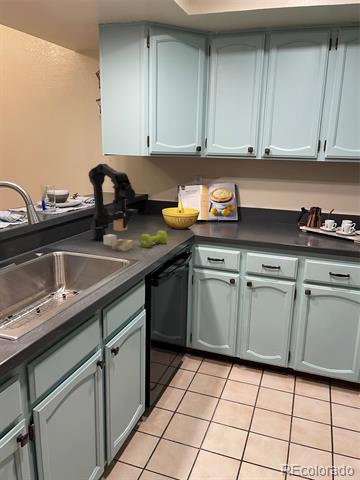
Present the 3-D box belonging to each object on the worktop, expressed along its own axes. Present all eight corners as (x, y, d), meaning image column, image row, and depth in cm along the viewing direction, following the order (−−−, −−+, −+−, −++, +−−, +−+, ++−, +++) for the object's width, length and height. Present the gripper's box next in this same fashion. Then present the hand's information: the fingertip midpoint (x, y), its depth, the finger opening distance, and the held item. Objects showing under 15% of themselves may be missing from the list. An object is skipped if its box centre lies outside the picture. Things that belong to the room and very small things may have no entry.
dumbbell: (148, 249, 203) (148, 236, 201) (138, 246, 208) (138, 233, 206) (169, 244, 215) (169, 231, 214) (158, 241, 220) (158, 229, 218)
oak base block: (112, 249, 201) (111, 242, 201) (120, 246, 209) (119, 239, 208) (125, 251, 199) (125, 243, 198) (132, 247, 206) (132, 240, 205)
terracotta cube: (113, 229, 200) (113, 220, 199) (119, 228, 204) (119, 219, 203) (121, 231, 197) (121, 221, 196) (127, 229, 202) (127, 220, 200)
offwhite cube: (103, 244, 210) (103, 235, 209) (109, 242, 215) (109, 234, 213) (110, 245, 208) (110, 236, 207) (116, 244, 212) (116, 235, 211)
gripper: (95, 197, 195) (96, 228, 198) (124, 200, 186) (124, 232, 189) (110, 195, 204) (110, 224, 208) (138, 198, 195) (138, 228, 199)
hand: (120, 227), depth 201 cm, fingers closed on terracotta cube, 5 cm apart
